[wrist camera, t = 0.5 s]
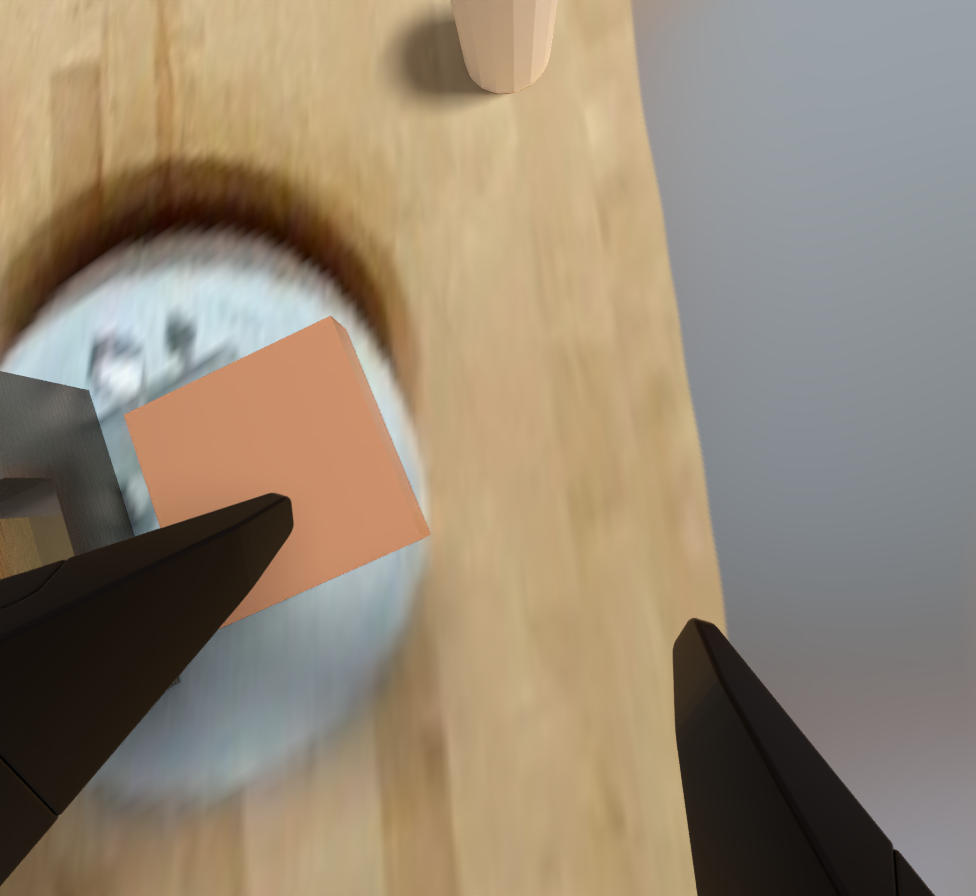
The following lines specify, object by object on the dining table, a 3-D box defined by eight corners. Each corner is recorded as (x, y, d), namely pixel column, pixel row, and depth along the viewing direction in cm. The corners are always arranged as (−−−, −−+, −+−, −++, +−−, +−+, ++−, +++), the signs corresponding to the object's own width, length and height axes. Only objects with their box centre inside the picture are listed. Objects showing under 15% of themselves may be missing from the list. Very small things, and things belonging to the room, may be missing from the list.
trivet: (430, 534, 23) (421, 538, 21) (223, 626, 24) (196, 638, 22) (345, 329, 25) (330, 315, 23) (155, 420, 26) (123, 414, 24)
